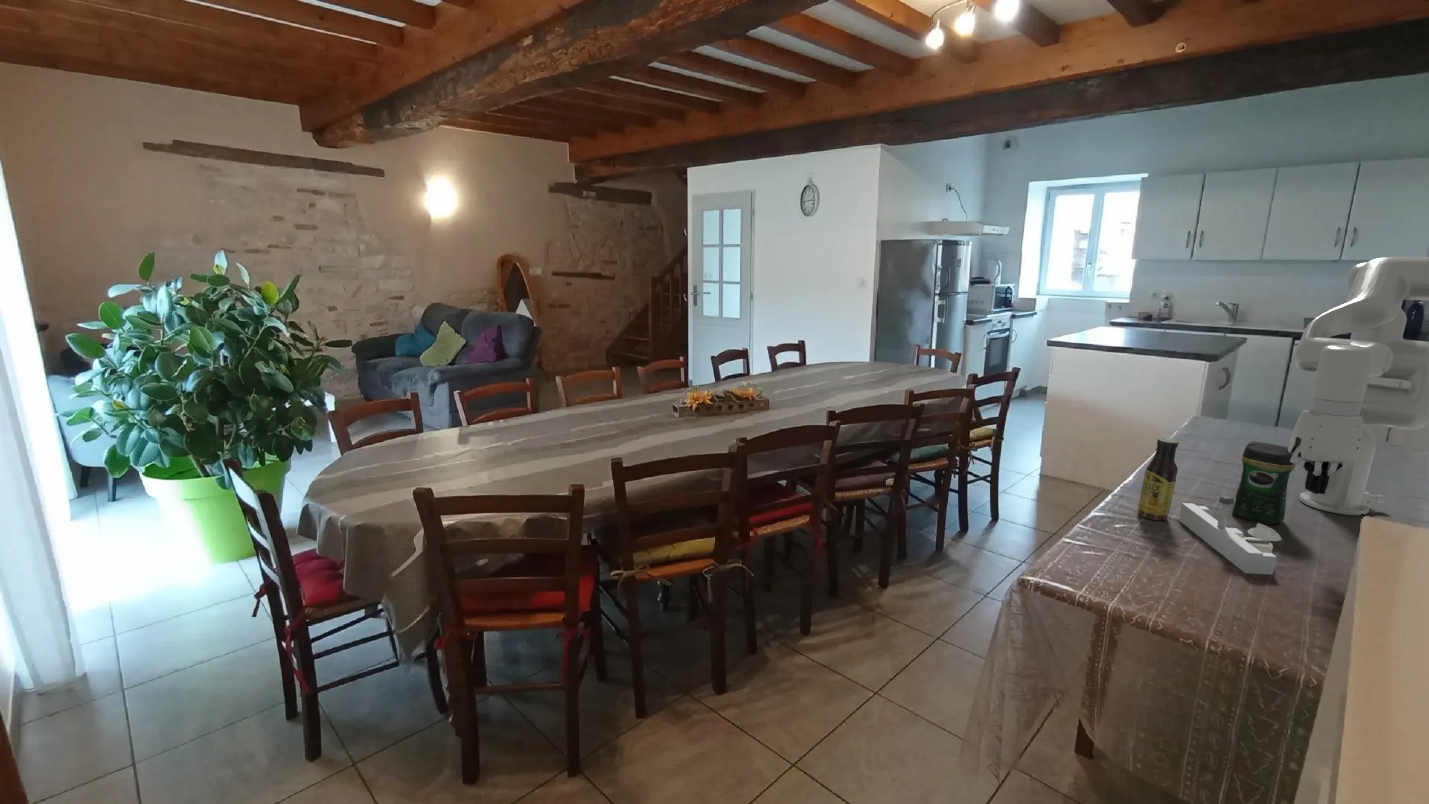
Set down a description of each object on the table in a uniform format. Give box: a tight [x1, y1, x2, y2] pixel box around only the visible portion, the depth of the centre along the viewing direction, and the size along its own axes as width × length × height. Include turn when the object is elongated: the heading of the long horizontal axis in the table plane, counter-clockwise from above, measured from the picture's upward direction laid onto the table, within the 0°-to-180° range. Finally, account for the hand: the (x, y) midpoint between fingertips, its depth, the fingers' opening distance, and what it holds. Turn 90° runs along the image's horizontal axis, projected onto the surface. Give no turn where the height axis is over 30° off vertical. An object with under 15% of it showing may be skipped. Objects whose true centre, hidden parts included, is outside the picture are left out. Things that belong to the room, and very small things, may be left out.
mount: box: [1178, 495, 1277, 576], centre depth 138 cm, size 5×25×12 cm, turn 170°
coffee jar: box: [1231, 440, 1296, 525], centre depth 151 cm, size 10×8×19 cm
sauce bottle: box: [1137, 437, 1179, 521], centre depth 152 cm, size 6×6×20 cm
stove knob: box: [1243, 522, 1286, 546], centre depth 143 cm, size 7×7×3 cm
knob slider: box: [1242, 536, 1274, 554], centre depth 132 cm, size 5×5×4 cm
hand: (1314, 491), depth 132 cm, fingers closed
